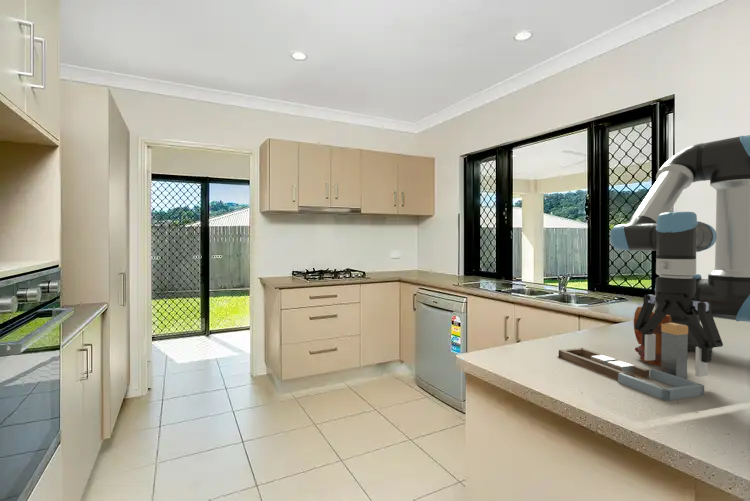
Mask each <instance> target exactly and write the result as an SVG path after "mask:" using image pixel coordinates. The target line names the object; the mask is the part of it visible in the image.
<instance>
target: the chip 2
mask: <svg viewBox="0 0 750 501" xmlns="http://www.w3.org/2000/svg"><path fill="white" fill-rule="evenodd" d="M618 360H619V361H611V362H607V366H608V367H611V368H614V369H617V370H620V371H622V372H625V373H626V375H629V376H634V368H635V365H636V364H633V365H632V363H630V362H627V363H626V361H624V360H621V359H618ZM620 360H621V361H620ZM623 361H624V362H623ZM629 363H630V364H629Z"/></svg>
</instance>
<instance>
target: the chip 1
mask: <svg viewBox="0 0 750 501" xmlns="http://www.w3.org/2000/svg"><path fill="white" fill-rule="evenodd" d="M611 357H612V356H609V357H608V355H606V356H605V354H603V355H597V356H591V360H592V361H595V362H597V363H600V364H603V365H606V366H607V362H611V361H616V359H617V358H615V359H614V357H612V358H611Z"/></svg>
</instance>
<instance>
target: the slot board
mask: <svg viewBox="0 0 750 501" xmlns="http://www.w3.org/2000/svg"><path fill="white" fill-rule="evenodd" d="M597 355H605V354H602V353H600V352H595V351H593V350H590V349H587V348H584V347H577V348H565V349H559V350H558V355H557V356H556V358H559V359H561V360H564V361H566V362H569V363H571V364H574V365H576V366H579V367H581V368H584V369H586V370H589V371H591V372H595V373H596V374H599V375H602V376H604V377H607V378H609V379H611V380H612V379H613V380H615V381H617V382H618V373H623V374H626V373H625V372H622V371H620V370H617V369H614V368H611V367H608V366H606V365H603V364H600V363H597V362H595V361H592V360H591V356H597ZM605 356H608V355H605ZM608 357H611V358H614V357H612V356H608ZM614 359H616V361H619V360H620V361H623V362H626V361H624V360H621V359H617V358H614ZM626 363H629V364H632V363H630V362H626ZM632 365H635V368H634V376H632V377H634V378H637V379H640V380H642V379H648V378H650V369H648V368H645V367H641V366H638V365H636V364H632ZM650 379H651V378H650Z"/></svg>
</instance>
